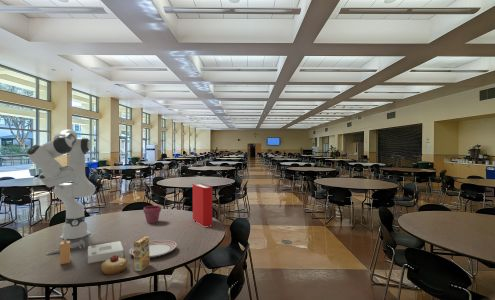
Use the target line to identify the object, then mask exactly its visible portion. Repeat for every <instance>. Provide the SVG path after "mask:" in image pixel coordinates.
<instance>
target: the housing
mask: <svg viewBox="0 0 495 300" xmlns="http://www.w3.org/2000/svg"><path fill="white" fill-rule="evenodd" d="M114 255H117V256H118V257H119V258H120V257H121V258H122V257H123V258H124V247H123V244H122V242H121V241H120V240H118V241H112V242H107V243H99V244H94V245H89V246H87V264H94V263H98V262H104V261H106V260H108V259H110V258H111V257H112V256H114Z"/></svg>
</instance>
